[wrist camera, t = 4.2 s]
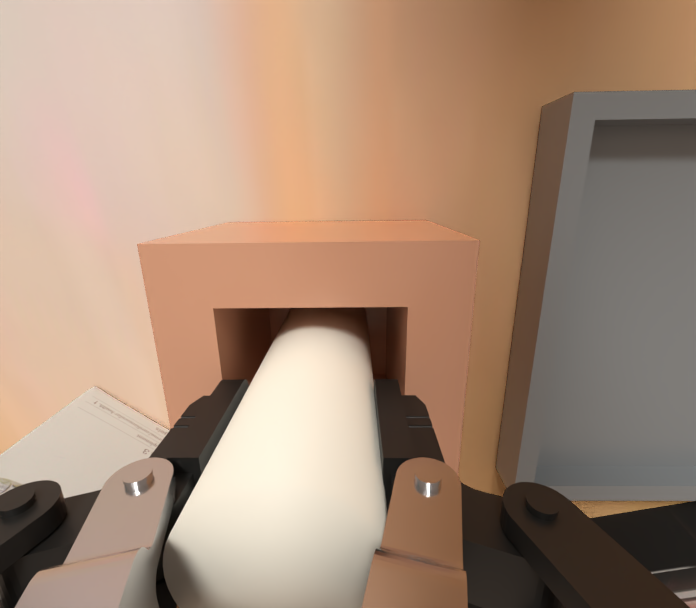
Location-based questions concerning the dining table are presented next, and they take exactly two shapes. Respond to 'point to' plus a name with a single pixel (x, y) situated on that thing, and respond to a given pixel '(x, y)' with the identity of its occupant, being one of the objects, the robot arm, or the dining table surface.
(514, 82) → the dining table surface
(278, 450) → the peg
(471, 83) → the dining table surface
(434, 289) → the square hole frame
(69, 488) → the supplement box
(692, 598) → the book
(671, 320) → the tray
